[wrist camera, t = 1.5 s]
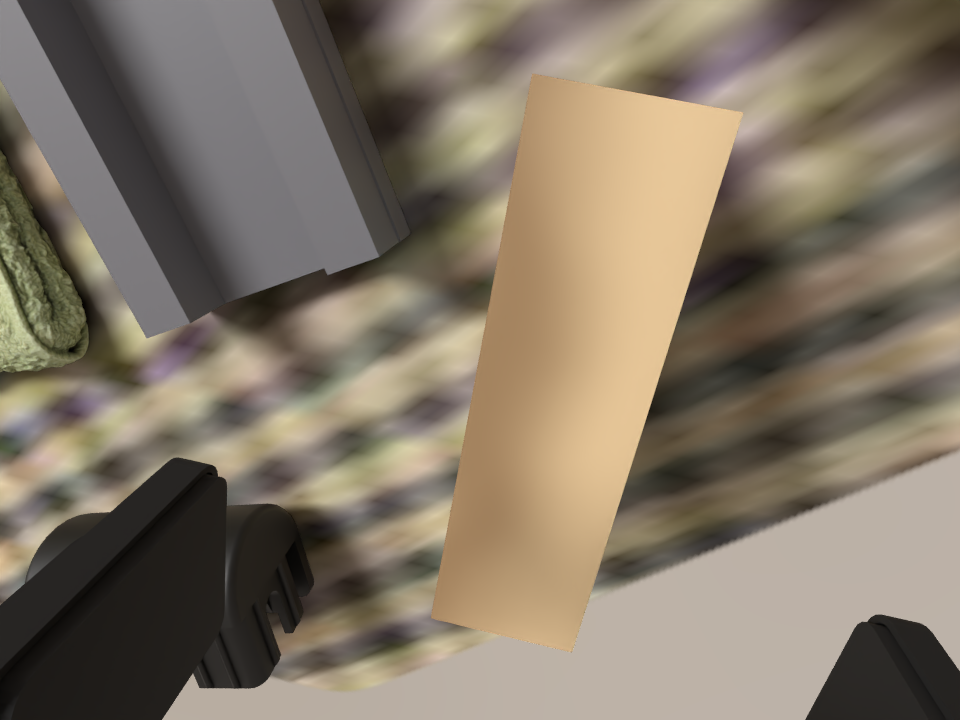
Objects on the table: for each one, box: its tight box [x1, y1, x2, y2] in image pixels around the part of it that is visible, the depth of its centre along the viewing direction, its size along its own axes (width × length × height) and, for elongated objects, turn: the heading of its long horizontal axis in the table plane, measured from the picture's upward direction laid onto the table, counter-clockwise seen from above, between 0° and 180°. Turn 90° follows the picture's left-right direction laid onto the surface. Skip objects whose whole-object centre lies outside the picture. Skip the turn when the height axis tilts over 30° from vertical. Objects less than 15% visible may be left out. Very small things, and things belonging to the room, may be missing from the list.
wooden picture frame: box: [431, 74, 743, 652], centre depth 19 cm, size 4×14×11 cm, turn 170°
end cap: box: [25, 504, 314, 689], centre depth 29 cm, size 10×7×7 cm
